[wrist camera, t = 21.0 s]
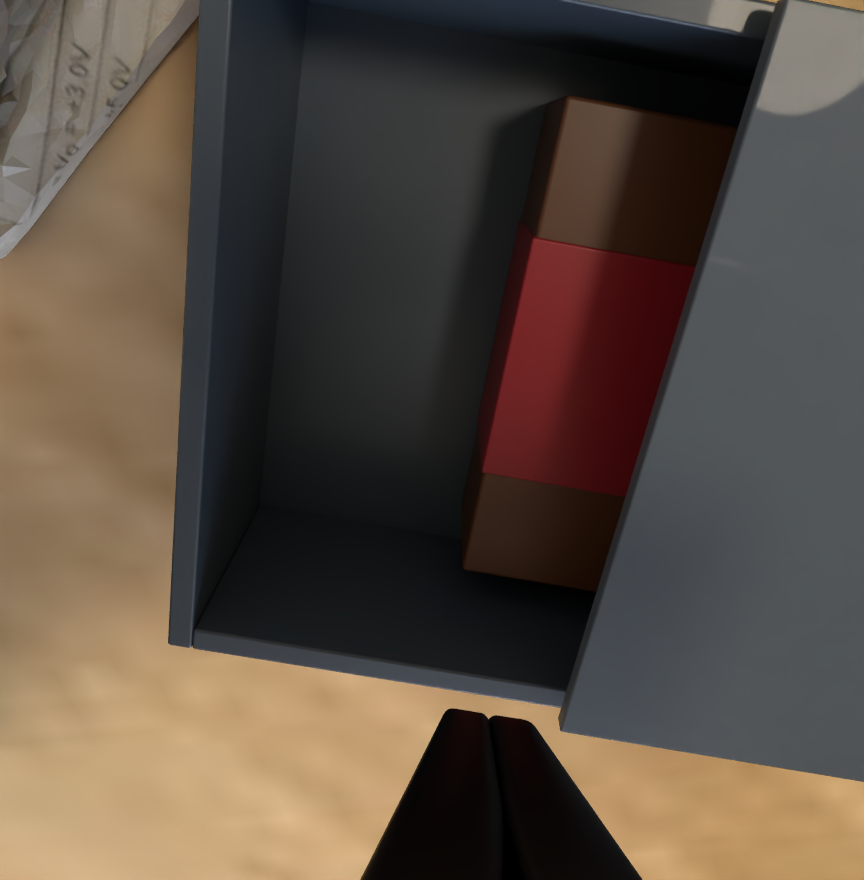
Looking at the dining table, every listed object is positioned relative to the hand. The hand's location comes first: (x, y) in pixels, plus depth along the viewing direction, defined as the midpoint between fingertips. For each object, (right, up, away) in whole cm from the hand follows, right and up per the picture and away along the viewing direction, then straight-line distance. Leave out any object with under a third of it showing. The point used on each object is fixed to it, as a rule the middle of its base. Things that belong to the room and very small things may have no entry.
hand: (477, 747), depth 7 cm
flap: (+7, +3, +6) cm, 9 cm away
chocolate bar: (+3, +5, +11) cm, 13 cm away
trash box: (+3, +6, +11) cm, 13 cm away
